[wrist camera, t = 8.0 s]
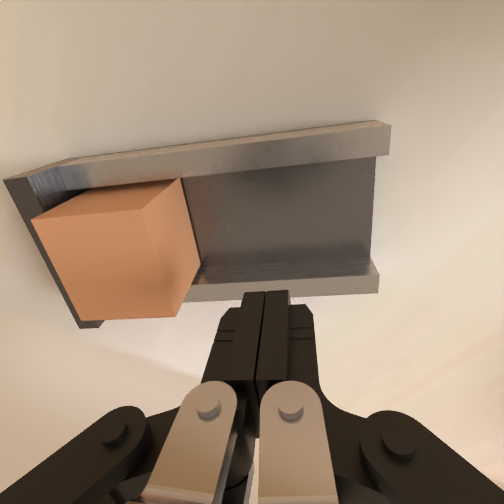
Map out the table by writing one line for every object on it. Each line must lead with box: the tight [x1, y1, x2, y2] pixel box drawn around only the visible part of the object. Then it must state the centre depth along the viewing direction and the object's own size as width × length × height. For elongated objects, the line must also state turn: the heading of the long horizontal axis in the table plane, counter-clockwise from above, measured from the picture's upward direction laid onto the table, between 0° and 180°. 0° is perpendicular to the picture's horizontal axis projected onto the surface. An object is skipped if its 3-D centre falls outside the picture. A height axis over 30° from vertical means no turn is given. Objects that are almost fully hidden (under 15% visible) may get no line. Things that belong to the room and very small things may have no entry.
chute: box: [3, 120, 391, 329], centre depth 16 cm, size 17×9×4 cm, turn 97°
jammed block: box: [31, 178, 200, 321], centre depth 16 cm, size 5×6×5 cm
